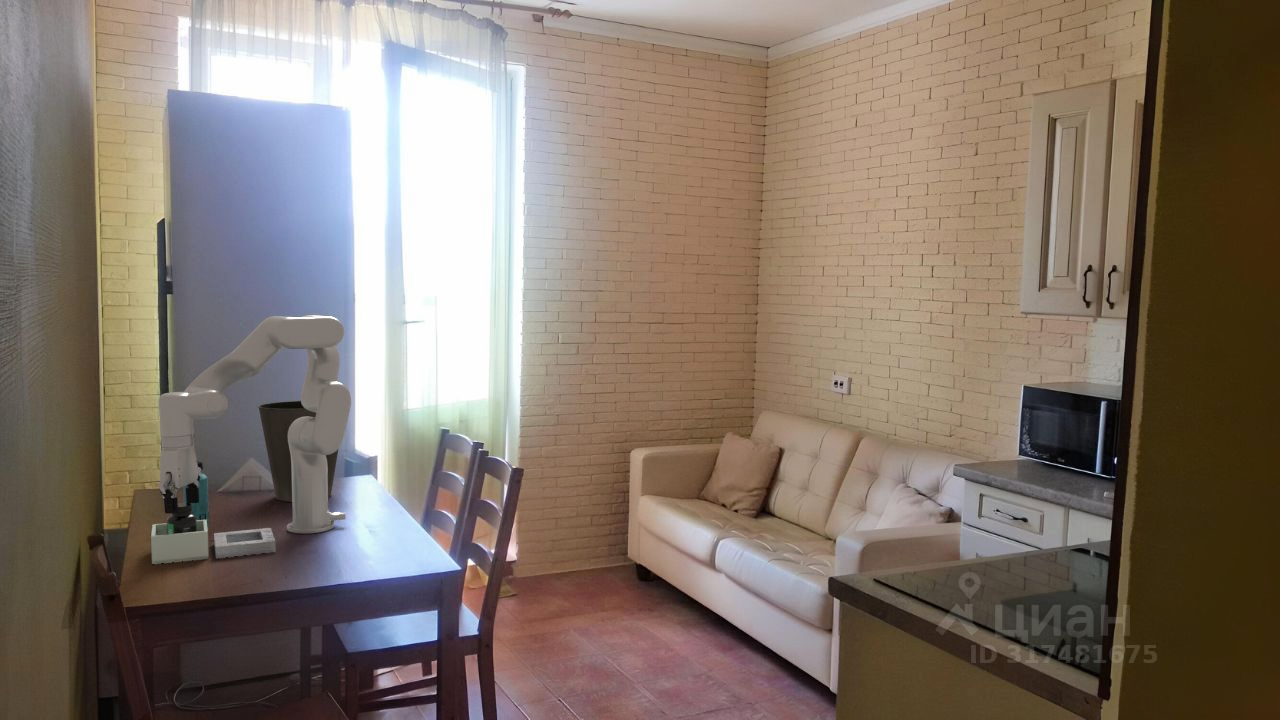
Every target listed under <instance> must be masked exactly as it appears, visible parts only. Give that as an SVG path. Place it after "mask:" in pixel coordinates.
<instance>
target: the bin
mask: <svg viewBox="0 0 1280 720" xmlns="http://www.w3.org/2000/svg"><path fill="white" fill-rule="evenodd" d="M196 522H197V532H188V533H178V534H167V522H166V523H155V524H152V525H151V527H152V528H151V536H150V541H151V542H150V543H151V545H150V546H151V565H152V564H155V565H162V564H161V563H164V564H170V563H171V564H173V563H172V562H174V563H182V561H183V562H191V561H192V560H193V561H201V560H209V528H208V529H207V520H197V521H196ZM193 561H192V562H193Z"/></svg>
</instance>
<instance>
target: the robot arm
mask: <svg viewBox="0 0 1280 720" xmlns="http://www.w3.org/2000/svg"><path fill="white" fill-rule="evenodd" d="M344 328H345V327H344V325H343V323H342V322H341V321H340V320H339V319H337V318H336V317H333V316H330V315H329V316H327V315H326V316H325V315H318V314H313V315H312V314H310V315H309V314H308V315H303V316H301V317H295V316H294V317H293V316H280V315H279V316H278V315H275V316H274V315H273V316H268V317H267V318H265V319H264V320H262V321H261V322H260V323H259V324H258V325H257V326H256V327H255V328H254V329H253V330H252V331H251V332H250V333H249V334H248V335H247V336H246V337H245V338H244V339H243V341H241V343H240V344H238V345H237V347H236V348H235V349H234V350H232V351H231V352H230V353H229V354H227V355H225V356H224V357H222V358H220V360H218V361H216V362H215V363H213V364H212V365H210V366H209V367H208V368H206V369H204V370H203V371H202V372H201V373H200V374H199V375H198V376H197V377H196V378H195V379H194V380H193V381H192V382H190V384H189V385H188V386H187V387H186V389H184V391H170V392H166V393H162V394H161V395H160V396H159V398H158V410H159V412H158V413H159V424H160V425H159V427H160V441H161V451H160V457H159V483H158V488H159V490H160V494H161V495H162V496H161V497H162V498H163V505H164V513H165V514H171V515H172V514H176V513H178V503H179V502H178V500H179V499H178V497H177V493H178V491H179V489H183V487H184V486H186V485H187V488H186V502H187V503H199V488H197V487H199V485H200V484H199V480H200V473H202V472H201V471H202V470H201V468H200V467H198V466H197V461H198V458H197V453H196V452H197V451H196V444H195V441H196V439H195V426H194V420H212V419H216V418H217V419H218V418H219V417H221V416H223V415H224V414H225V413H226V411H227V409H228V407H229V406H228V405H229V400H228V399H227V397H226V395H225V394H224V393H223V391H225V390H226V389H228V388H229V387H230V386H232V385H234V384H236V383H239V382H241V381H244V380H246V379H249V378H252V377H254V376H256V375H258V374H259V373H260V372H261V371H262V370H263V369H264V368H265V366H266V365H268V364H269V363H270V362H271V360H272V359H273V358H274V357H275V356H277V354H278V353H279V352H280V351H281V350H282V349H286V350H287V349H288V350H305V351H306V353H307V359H308V360H307V367H306V372H305V376H304V380H303V385H302V390H301V395H300V401H301V403H302V405H303V407H304V408H305V409H307V410H309V411H312V412H315V413H316V417H301V418H298V419H296V420H295V421H294V422H293V423H292V424H291V425H290V427H289V430H288V443H289V448H290V454H291V465H292V502H291V503H292V504H291V505H292V508H291V509H292V510H291V512H292V522H289V523H288V524H287V525H286V530H287V531H288V532H290V533H295V534H303V535H304V534H315V533H323V532H327V531H329V530H332V529H333V528H334V527H335V521H338V520H339V521H341V520H346V517H347V516H346V512H340V511H337V512H336V511H335V512H330V509H329V497H328V479H327V473H328V468H327V459H326V455H329V454H332V453H334V452H335V451H337V450H338V451H339V449H340V447H341V446H342V444H343V441H344V438H345V434H346V430H347V425H348V420H349V416H350V413H351V412H350V411H351V406H352V397H351V392H350V391H349V388H348V387H347V386H346V385H345V384H343V383H341V382H339V381H338V376H339V371H340V362H341V361H340V359H341V358H340V353H339V349H338V347H337V345H339V344H340V343H341V342H342V341H343V339H344V335H345V329H344ZM188 487H189V488H188ZM171 490H172V491H171Z"/></svg>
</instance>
